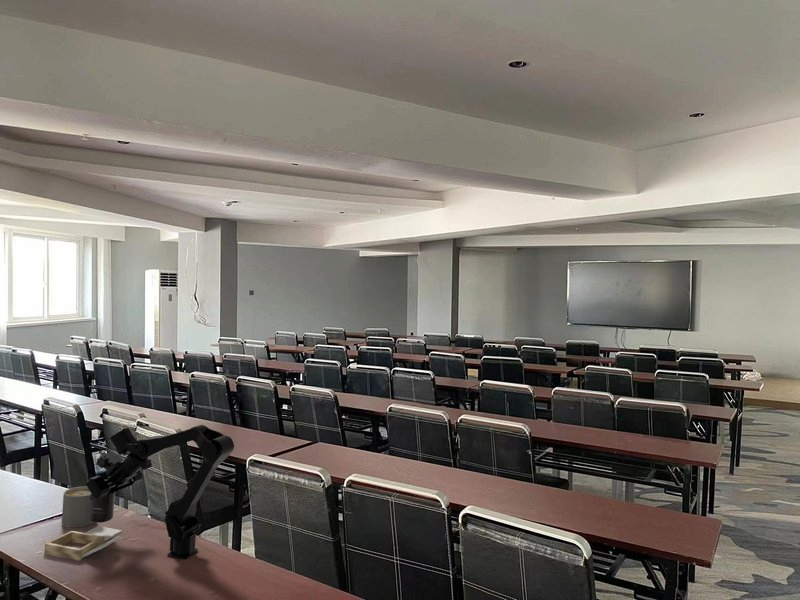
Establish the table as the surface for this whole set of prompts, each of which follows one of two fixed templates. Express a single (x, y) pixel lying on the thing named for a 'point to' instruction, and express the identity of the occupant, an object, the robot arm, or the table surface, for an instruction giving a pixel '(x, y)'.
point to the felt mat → (104, 532)
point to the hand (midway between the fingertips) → (99, 495)
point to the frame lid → (101, 546)
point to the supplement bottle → (102, 508)
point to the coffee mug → (76, 507)
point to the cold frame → (58, 549)
